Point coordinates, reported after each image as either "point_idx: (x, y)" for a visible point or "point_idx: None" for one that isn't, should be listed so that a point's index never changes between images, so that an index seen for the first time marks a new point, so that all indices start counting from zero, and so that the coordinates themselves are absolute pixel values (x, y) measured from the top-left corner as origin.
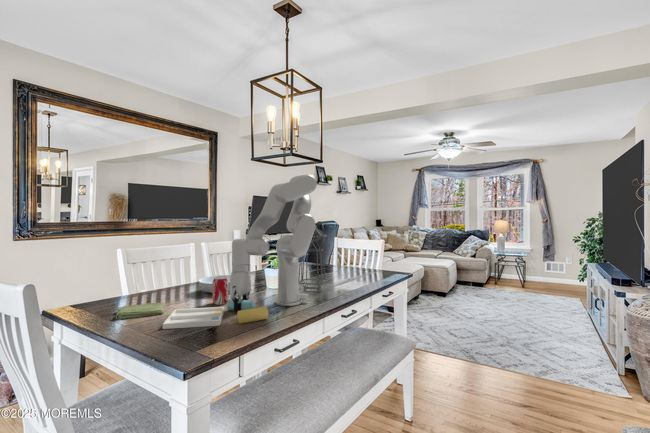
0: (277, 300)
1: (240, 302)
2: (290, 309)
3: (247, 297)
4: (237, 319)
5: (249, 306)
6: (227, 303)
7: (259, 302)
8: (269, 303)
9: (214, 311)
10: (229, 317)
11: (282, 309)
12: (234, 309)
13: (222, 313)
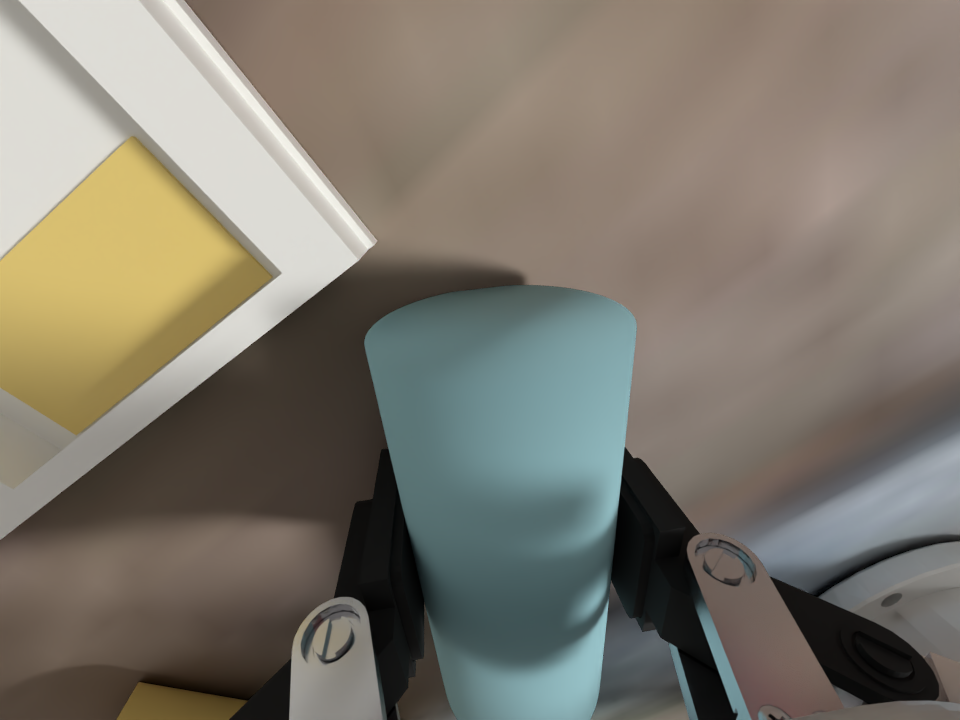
0: (901, 600)
1: (456, 633)
2: (680, 717)
3: (683, 673)
4: (130, 696)
5: (447, 696)
6: (373, 360)
7: (915, 416)
8: (860, 526)
9: (111, 135)
10: (180, 526)
11: (668, 689)
12: (381, 478)
13: (39, 508)
